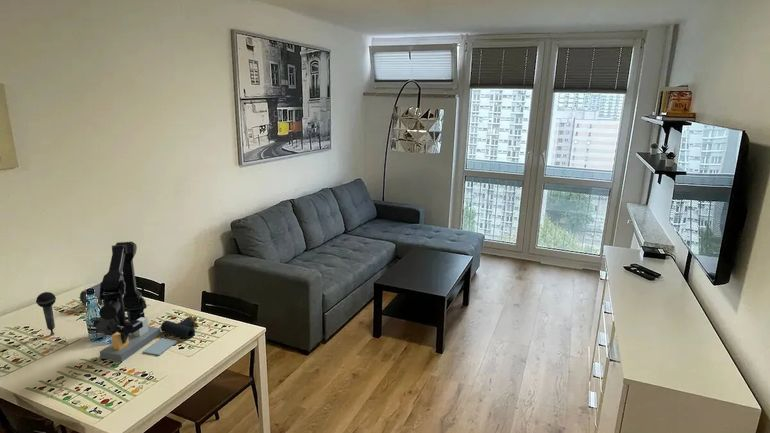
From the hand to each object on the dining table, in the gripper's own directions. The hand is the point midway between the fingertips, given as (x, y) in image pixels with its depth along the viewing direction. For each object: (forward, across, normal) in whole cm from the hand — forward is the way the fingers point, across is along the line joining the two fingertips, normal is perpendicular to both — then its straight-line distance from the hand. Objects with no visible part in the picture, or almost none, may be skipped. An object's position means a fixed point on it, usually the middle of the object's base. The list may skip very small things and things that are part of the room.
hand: (120, 342), depth 178 cm
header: (+4, 0, +6) cm, 7 cm away
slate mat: (+4, +12, +8) cm, 15 cm away
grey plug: (+5, 0, +11) cm, 12 cm away
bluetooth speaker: (+5, -44, +38) cm, 59 cm away
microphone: (+5, -39, +4) cm, 39 cm away
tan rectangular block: (+5, 0, 0) cm, 5 cm away
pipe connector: (+5, +13, +22) cm, 26 cm away
